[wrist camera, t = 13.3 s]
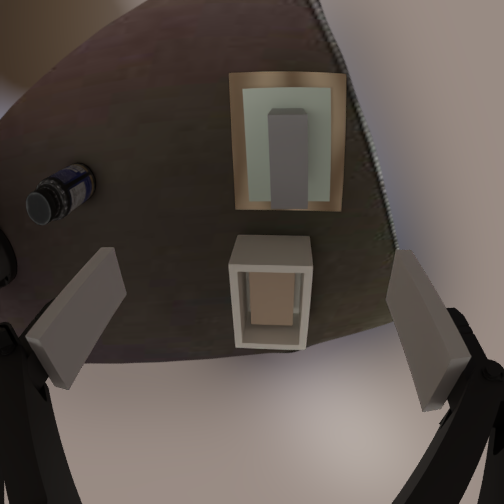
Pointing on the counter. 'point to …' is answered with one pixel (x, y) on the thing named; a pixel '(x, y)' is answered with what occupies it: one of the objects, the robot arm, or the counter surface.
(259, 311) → the storage box
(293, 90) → the green base grey block
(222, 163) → the counter surface
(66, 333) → the robot arm
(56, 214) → the pill bottle
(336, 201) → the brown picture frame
